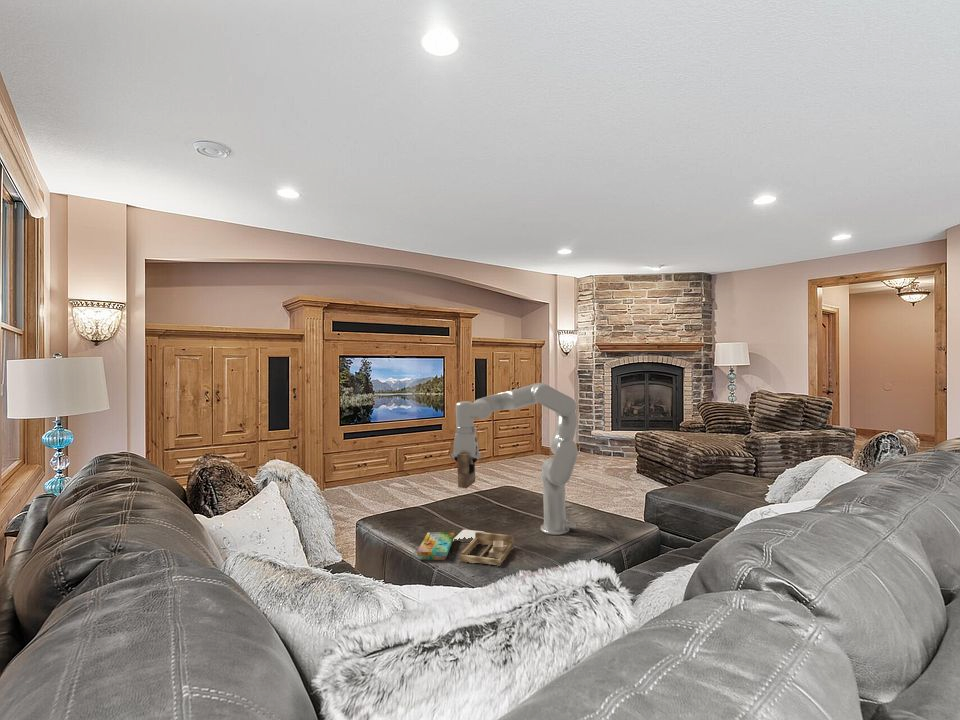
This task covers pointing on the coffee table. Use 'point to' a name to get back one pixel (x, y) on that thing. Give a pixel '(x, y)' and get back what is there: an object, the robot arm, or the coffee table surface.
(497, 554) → the offcut low
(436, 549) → the puzzle game
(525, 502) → the coffee table surface
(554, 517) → the robot arm
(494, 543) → the offcut top
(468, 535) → the mat
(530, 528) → the coffee table surface
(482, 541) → the frame
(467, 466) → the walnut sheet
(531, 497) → the coffee table surface
